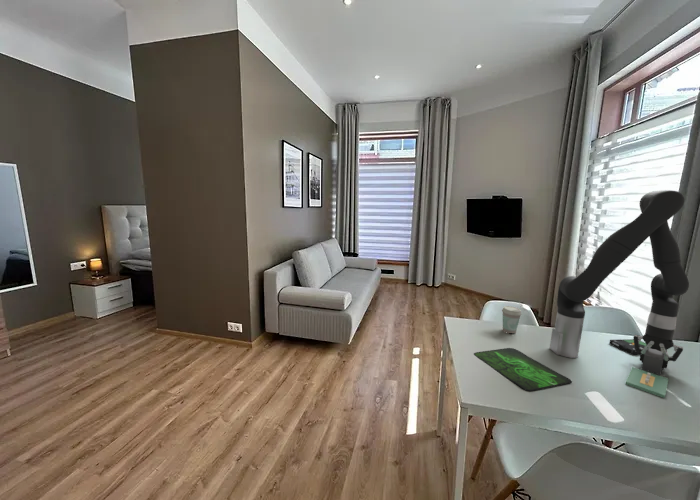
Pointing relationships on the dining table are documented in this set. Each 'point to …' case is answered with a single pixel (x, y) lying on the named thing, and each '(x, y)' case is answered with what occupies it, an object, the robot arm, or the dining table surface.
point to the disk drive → (627, 345)
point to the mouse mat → (522, 369)
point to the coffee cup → (510, 318)
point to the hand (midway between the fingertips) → (652, 365)
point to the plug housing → (653, 361)
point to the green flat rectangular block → (647, 382)
